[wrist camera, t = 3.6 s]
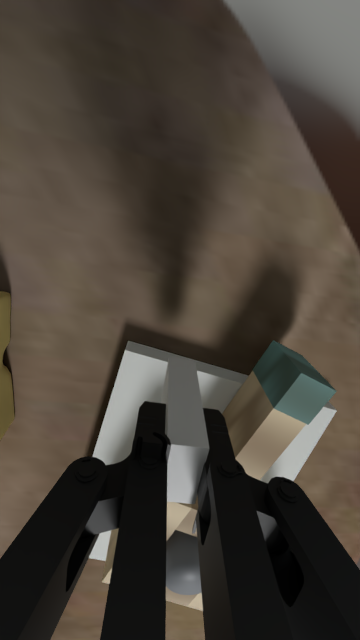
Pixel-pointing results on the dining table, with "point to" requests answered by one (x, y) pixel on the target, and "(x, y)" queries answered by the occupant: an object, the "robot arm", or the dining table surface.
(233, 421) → the wooden frame with handle
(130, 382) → the base
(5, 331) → the cheese
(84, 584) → the dining table surface
